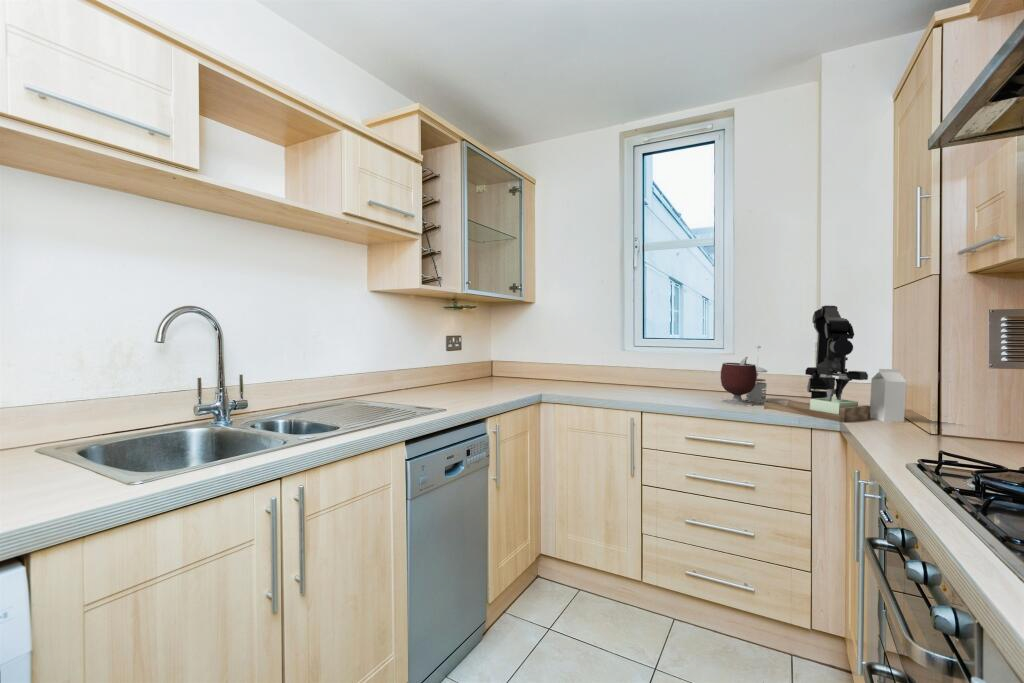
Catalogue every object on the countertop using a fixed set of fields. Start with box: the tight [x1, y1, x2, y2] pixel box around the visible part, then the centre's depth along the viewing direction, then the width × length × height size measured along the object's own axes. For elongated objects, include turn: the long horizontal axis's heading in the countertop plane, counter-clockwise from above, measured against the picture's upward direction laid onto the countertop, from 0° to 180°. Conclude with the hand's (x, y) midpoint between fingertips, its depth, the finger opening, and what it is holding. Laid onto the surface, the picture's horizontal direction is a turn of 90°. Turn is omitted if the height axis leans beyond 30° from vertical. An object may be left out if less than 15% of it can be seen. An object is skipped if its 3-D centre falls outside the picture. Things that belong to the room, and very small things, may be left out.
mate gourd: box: [720, 356, 758, 406], centre depth 204 cm, size 16×14×20 cm
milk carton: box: [869, 368, 907, 423], centre depth 171 cm, size 7×7×19 cm
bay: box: [763, 400, 871, 423], centre depth 180 cm, size 17×30×6 cm, turn 28°
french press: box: [743, 344, 768, 403], centre depth 214 cm, size 10×12×25 cm
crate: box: [810, 388, 859, 414], centre depth 174 cm, size 12×10×10 cm
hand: (834, 396), depth 174 cm, fingers closed on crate, 2 cm apart
